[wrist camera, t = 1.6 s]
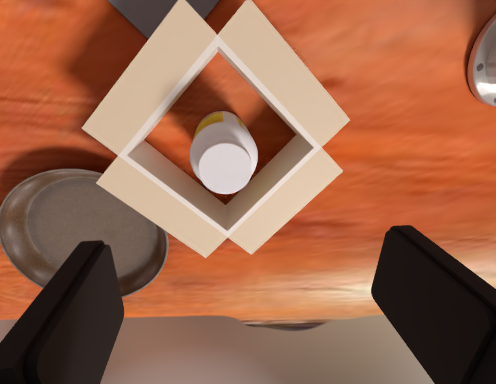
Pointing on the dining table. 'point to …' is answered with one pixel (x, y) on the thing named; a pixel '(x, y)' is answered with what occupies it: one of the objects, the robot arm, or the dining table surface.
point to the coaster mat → (156, 11)
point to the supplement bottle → (223, 153)
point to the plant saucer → (77, 228)
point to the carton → (168, 92)
